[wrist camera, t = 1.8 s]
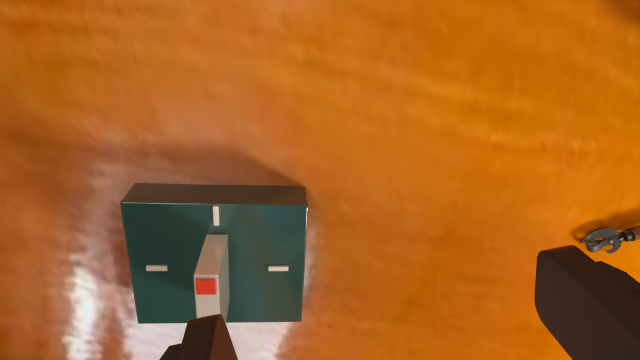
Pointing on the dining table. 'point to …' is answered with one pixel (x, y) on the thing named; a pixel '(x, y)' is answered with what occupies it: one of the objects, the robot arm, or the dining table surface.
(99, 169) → the dining table surface
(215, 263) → the tap handle
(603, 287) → the robot arm
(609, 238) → the can opener
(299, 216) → the green switch panel
